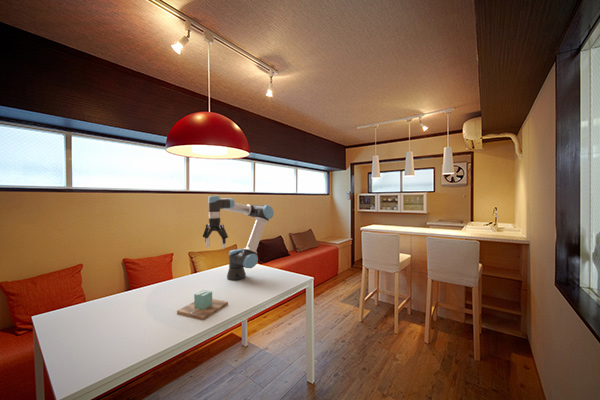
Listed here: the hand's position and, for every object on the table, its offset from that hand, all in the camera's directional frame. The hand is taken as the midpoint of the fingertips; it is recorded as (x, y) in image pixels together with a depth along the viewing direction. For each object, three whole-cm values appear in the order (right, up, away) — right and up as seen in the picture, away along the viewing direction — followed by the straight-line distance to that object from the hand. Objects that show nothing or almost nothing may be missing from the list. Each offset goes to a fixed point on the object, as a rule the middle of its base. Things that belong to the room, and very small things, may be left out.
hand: (215, 247), depth 168 cm
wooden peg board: (+2, -31, -26) cm, 41 cm away
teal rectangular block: (+2, -30, -26) cm, 39 cm away
